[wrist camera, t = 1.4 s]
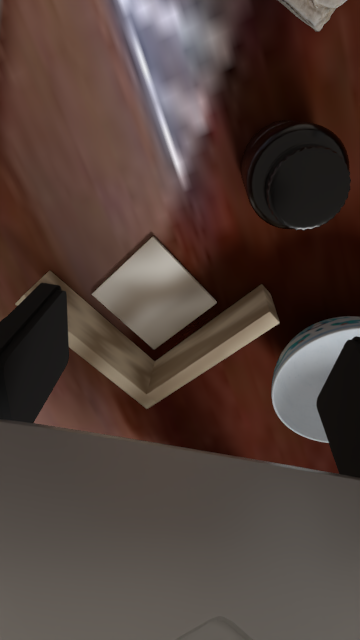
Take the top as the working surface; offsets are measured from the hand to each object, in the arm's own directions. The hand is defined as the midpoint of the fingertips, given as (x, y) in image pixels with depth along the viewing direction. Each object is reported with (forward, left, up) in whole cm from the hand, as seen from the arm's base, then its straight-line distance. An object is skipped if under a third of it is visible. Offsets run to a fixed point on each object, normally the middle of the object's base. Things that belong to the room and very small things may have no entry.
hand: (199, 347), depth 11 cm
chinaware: (-22, +1, -25) cm, 33 cm away
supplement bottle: (-2, -6, -25) cm, 25 cm away
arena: (-3, +11, -24) cm, 27 cm away
